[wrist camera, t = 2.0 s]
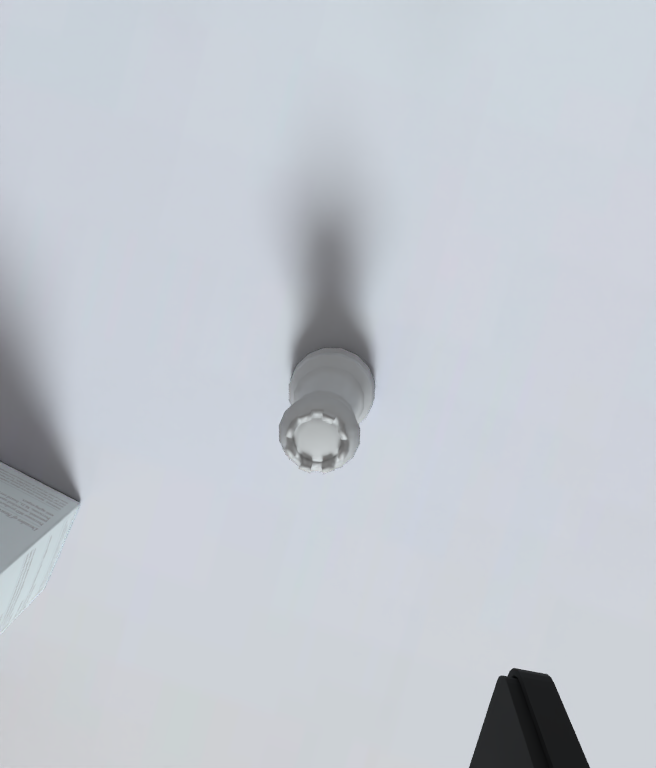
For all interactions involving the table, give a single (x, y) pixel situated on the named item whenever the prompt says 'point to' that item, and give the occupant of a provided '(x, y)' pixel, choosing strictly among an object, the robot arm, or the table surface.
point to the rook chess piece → (326, 409)
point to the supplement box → (28, 538)
